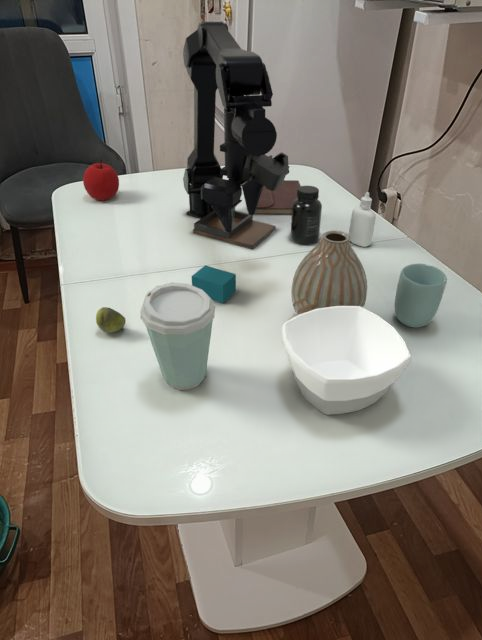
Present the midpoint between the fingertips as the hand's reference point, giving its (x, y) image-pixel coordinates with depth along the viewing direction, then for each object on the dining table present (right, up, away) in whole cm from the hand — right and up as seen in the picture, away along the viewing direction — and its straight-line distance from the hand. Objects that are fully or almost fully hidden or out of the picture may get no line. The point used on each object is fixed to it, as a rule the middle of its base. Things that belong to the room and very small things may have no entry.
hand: (240, 223), depth 98 cm
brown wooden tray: (-2, +4, +25) cm, 25 cm away
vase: (+16, -20, -4) cm, 25 cm away
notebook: (+8, +17, +41) cm, 45 cm away
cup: (+32, -19, -2) cm, 37 cm away
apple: (-38, +16, +38) cm, 57 cm away
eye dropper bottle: (+27, +1, +23) cm, 35 cm away
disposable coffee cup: (-8, -29, -17) cm, 34 cm away
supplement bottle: (+14, +2, +23) cm, 27 cm away
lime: (-22, -21, -8) cm, 32 cm away
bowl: (+16, -30, -17) cm, 38 cm away
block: (-5, -13, +3) cm, 14 cm away
